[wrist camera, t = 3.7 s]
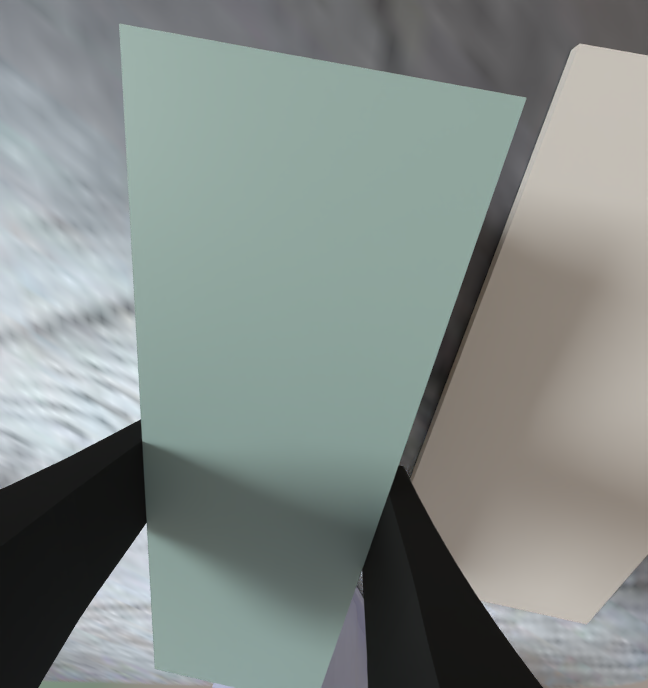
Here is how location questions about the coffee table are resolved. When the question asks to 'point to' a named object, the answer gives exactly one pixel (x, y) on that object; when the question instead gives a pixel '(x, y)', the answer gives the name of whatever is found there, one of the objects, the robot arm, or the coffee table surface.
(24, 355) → the coffee table surface
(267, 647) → the lid
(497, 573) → the mat
